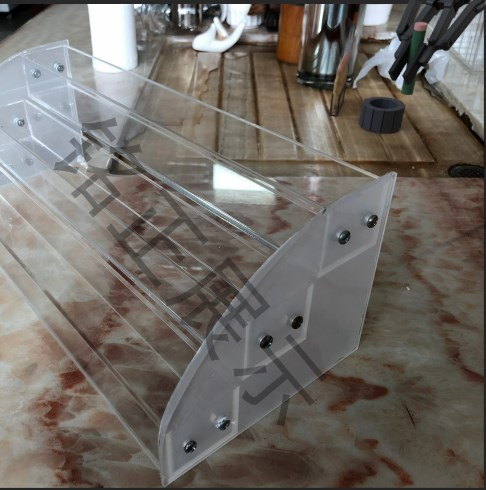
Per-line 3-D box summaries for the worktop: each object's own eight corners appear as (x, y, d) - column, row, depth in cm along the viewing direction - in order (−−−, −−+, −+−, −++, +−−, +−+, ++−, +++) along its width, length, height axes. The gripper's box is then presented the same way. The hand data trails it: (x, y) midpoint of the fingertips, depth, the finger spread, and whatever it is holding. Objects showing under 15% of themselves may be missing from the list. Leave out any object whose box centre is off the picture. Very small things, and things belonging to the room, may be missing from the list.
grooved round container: (408, 127, 129) (413, 105, 126) (381, 136, 125) (385, 113, 123) (378, 115, 135) (382, 94, 132) (350, 123, 132) (354, 101, 129)
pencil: (415, 93, 106) (430, 23, 99) (407, 95, 105) (422, 25, 98) (406, 90, 107) (420, 21, 101) (398, 92, 106) (412, 23, 100)
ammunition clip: (336, 100, 144) (343, 49, 138) (343, 100, 144) (351, 50, 137) (328, 115, 136) (336, 62, 129) (337, 116, 135) (344, 63, 129)
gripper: (517, -20, 100) (444, 100, 100) (433, -30, 109) (366, 80, 110) (513, -52, 94) (436, 76, 94) (424, -60, 104) (354, 57, 104)
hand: (398, 78), depth 102 cm, fingers closed on pencil, 2 cm apart
